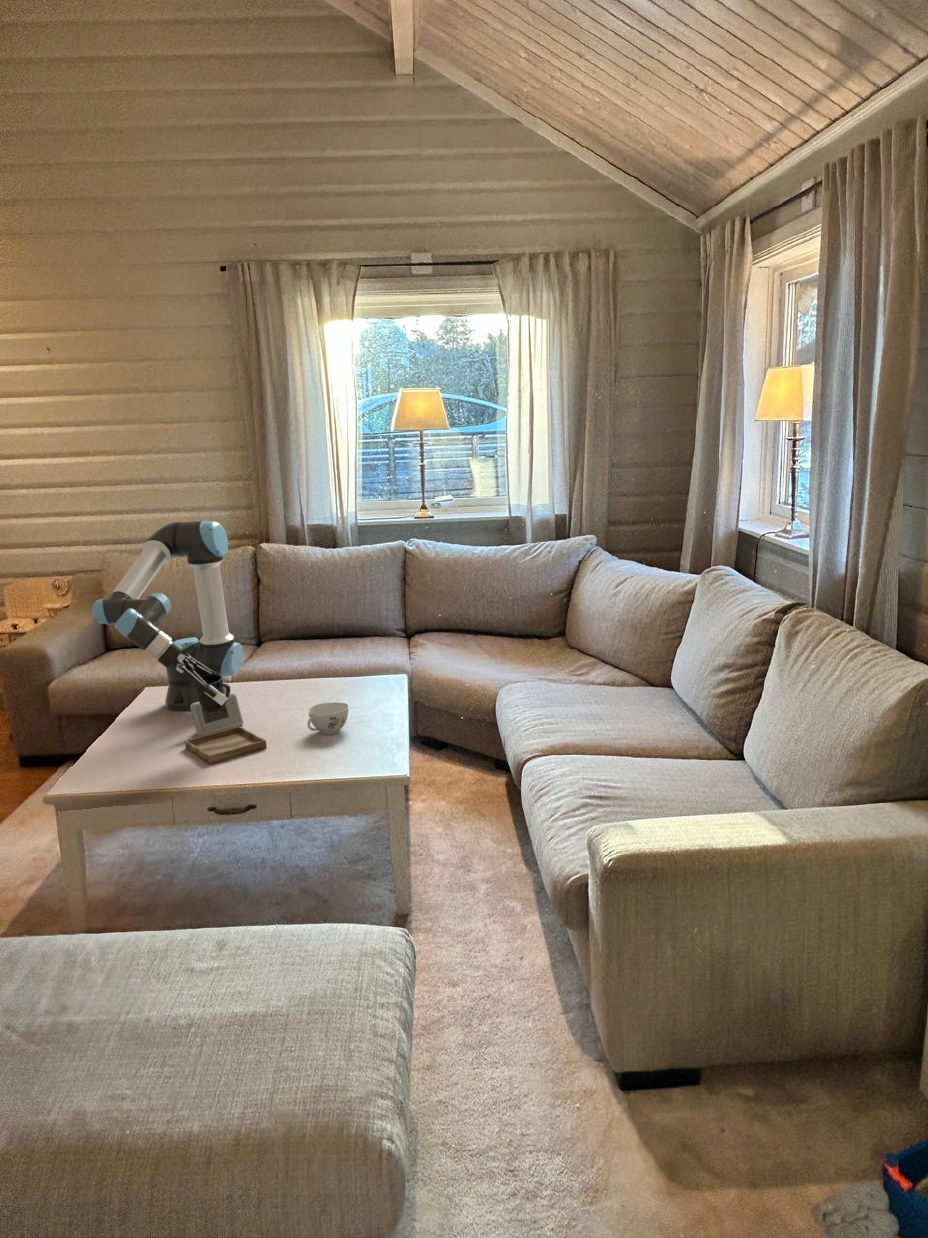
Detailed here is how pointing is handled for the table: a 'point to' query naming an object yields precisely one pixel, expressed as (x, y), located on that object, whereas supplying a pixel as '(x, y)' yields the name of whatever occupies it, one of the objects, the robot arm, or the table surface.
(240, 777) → the table surface
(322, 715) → the teacup
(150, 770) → the table surface
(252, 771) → the table surface
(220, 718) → the digital clock
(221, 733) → the walnut tray
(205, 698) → the mug
